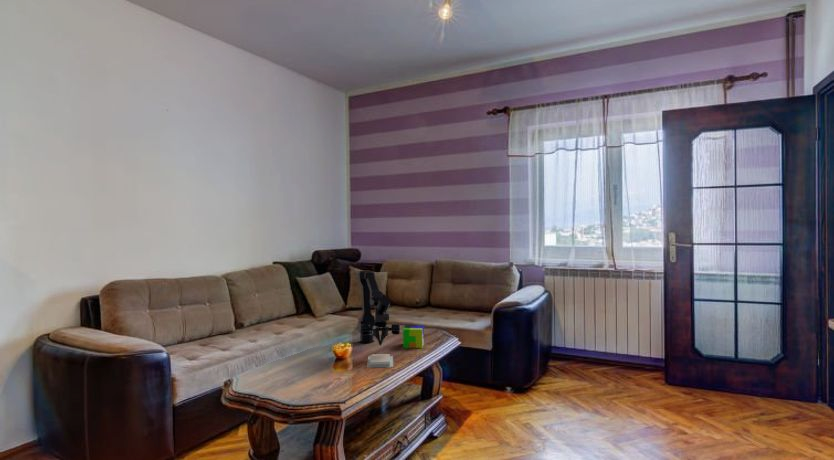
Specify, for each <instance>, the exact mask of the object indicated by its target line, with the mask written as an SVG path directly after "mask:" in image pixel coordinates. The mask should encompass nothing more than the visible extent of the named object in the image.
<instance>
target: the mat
mask: <svg viewBox="0 0 834 460" xmlns="http://www.w3.org/2000/svg"><path fill="white" fill-rule="evenodd" d="M370 359H371V355H369V356H367V363H366V368H371V367H370ZM391 367H392V368H393V367H394V355H390V366H383V367H382V368H391Z"/></svg>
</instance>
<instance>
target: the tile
mask: <svg viewBox="0 0 834 460" xmlns="http://www.w3.org/2000/svg"><path fill="white" fill-rule="evenodd" d="M370 356H371V359H370V367H369V368H384V367H383V366H390V356H391V354H390V353H379V354H378V353H377V354H376V353H375V354H374V353H372V354H370Z"/></svg>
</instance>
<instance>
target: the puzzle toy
mask: <svg viewBox="0 0 834 460" xmlns="http://www.w3.org/2000/svg"><path fill="white" fill-rule="evenodd" d="M424 329H425V328H424V325H421V324H420V325H418V324H417V325H413V324H410V325H409V324H408V325H407V324H405V326H404V327H403V329H402V342H403V343H402V344H403V345H402V347H403V348H409V349H410V348H412V349H413V348H414V349H415V348H417V349H418V348H419V349H421V350H422V349H423V347H424V343H425V338H424V337H425V335H424V333H425V332H424Z"/></svg>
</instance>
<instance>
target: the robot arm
mask: <svg viewBox="0 0 834 460" xmlns="http://www.w3.org/2000/svg"><path fill="white" fill-rule="evenodd" d="M356 278H357V282H358V284H359V285H360V289H361V302H362V303H361V306H362V308H361V309H362V313H361V315H360V317H359V318H360V319H359V322H358V324H357V331H358V332H359V335H360V340H358V343H361V344H370V343H374V342H375V340H374V338H376V341H377V343H378V345H379V346H382V344H383V342H384V340H385V338H387V337H388V336H389V332H391V334H392V335H396V336H397V335H401V329H400V328H401V327H400V324H399V323H391V326H387V322H390V313H387V311H388V310H389V309H390V306H391V302H392V300H391V298H390V297H389V296H387V295H386V294H384V293H383V292H382V291H380V289H379V286H378V283H377V281H376V275H375V272H374V271H371V270H366V269H365V270H359V271H358V272H357V273H356ZM372 307H373V308H374V314H372ZM380 332H381V334H380Z"/></svg>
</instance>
